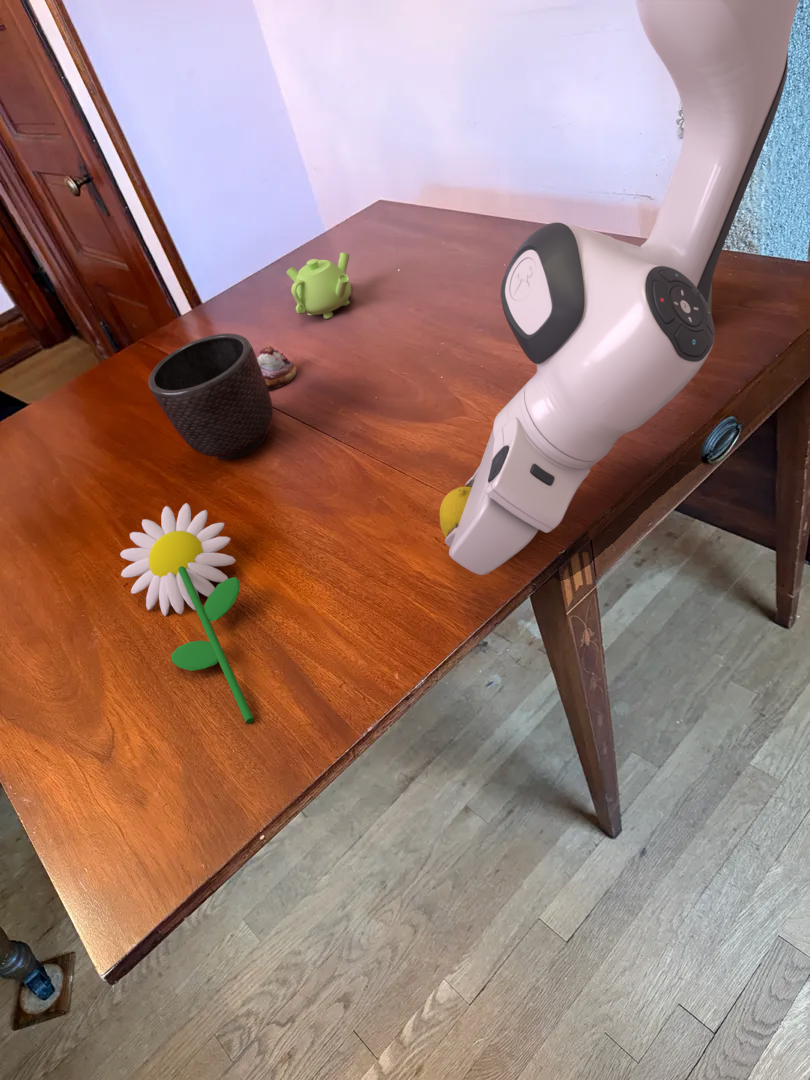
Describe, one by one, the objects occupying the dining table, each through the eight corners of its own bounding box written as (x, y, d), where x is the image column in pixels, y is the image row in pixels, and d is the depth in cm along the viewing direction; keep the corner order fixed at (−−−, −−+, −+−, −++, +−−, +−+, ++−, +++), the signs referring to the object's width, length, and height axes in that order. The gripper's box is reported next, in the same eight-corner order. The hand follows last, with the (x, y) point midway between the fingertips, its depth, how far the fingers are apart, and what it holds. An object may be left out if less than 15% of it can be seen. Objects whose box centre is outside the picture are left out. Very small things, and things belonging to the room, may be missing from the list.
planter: (250, 479, 96) (207, 396, 88) (173, 470, 103) (125, 391, 94) (305, 414, 104) (270, 332, 96) (229, 409, 111) (190, 332, 102)
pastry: (306, 367, 114) (295, 338, 111) (276, 396, 110) (263, 367, 107) (269, 362, 118) (256, 335, 115) (238, 390, 114) (225, 362, 111)
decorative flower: (320, 696, 71) (219, 510, 90) (302, 673, 67) (201, 484, 86) (202, 771, 69) (125, 565, 88) (177, 751, 66) (102, 541, 84)
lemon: (445, 568, 76) (426, 511, 70) (454, 530, 79) (437, 473, 74) (498, 567, 74) (483, 508, 69) (505, 528, 78) (492, 469, 72)
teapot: (295, 332, 124) (276, 285, 118) (298, 301, 132) (281, 256, 126) (359, 314, 122) (343, 265, 116) (359, 284, 131) (344, 237, 125)
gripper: (539, 349, 70) (461, 434, 80) (490, 497, 57) (404, 576, 67) (592, 387, 71) (508, 466, 81) (556, 540, 58) (462, 612, 68)
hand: (461, 517), depth 74 cm, fingers closed on lemon, 5 cm apart
